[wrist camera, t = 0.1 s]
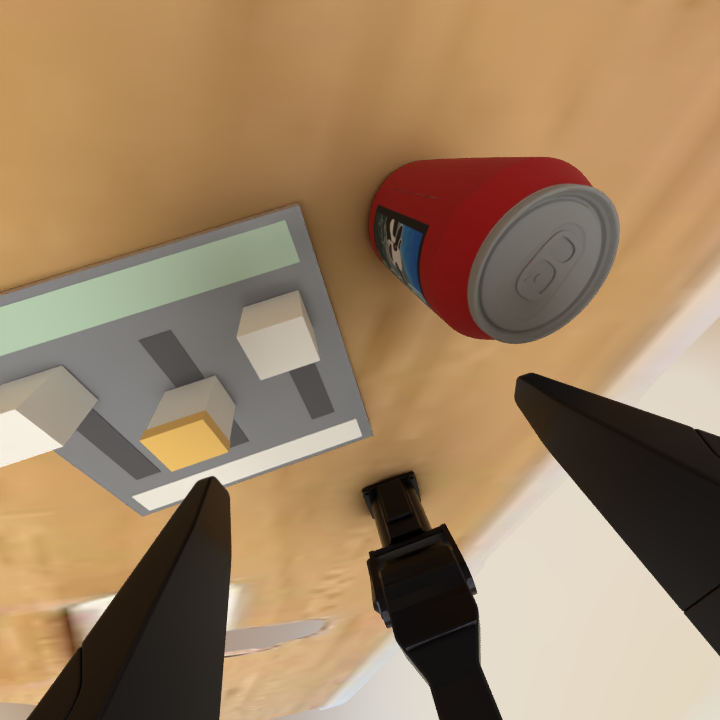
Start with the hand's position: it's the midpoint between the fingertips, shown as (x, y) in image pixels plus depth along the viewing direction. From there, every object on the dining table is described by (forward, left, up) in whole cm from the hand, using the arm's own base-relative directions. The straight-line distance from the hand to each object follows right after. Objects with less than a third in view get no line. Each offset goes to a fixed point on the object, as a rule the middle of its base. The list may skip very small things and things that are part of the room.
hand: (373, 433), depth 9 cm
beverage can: (+2, -7, -15) cm, 17 cm away
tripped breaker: (-5, +11, -13) cm, 18 cm away
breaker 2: (-1, +3, -13) cm, 13 cm away
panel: (-5, +11, -14) cm, 19 cm away
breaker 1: (-1, +18, -13) cm, 22 cm away
